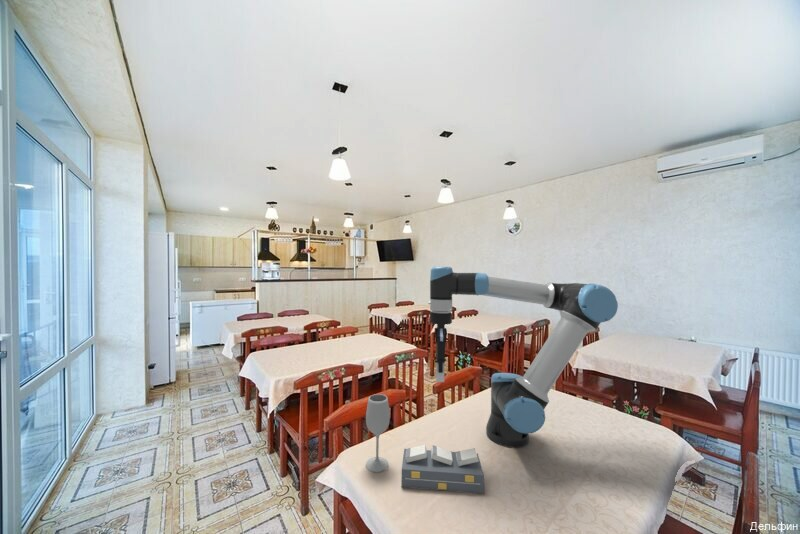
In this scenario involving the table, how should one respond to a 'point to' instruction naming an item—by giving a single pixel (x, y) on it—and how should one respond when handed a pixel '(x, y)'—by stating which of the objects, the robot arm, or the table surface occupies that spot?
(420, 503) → the table surface
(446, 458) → the rocker
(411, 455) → the rocker
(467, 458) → the rocker
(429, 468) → the console
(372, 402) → the wineglass
